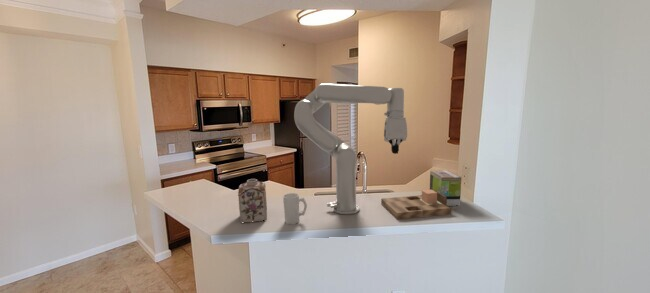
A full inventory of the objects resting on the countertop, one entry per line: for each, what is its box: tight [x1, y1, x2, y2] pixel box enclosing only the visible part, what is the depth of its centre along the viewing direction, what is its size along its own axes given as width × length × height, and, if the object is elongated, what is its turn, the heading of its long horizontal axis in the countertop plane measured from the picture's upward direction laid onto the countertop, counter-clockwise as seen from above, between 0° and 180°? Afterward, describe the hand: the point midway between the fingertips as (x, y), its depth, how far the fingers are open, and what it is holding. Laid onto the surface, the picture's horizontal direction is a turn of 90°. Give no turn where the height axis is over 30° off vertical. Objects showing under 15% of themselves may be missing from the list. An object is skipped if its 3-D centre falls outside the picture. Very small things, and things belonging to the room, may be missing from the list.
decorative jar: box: [237, 178, 268, 224], centre depth 120 cm, size 12×12×18 cm
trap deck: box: [380, 189, 452, 220], centre depth 125 cm, size 26×19×7 cm
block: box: [421, 189, 437, 204], centre depth 126 cm, size 5×5×5 cm
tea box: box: [429, 170, 462, 207], centre depth 134 cm, size 15×10×15 cm, turn 179°
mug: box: [282, 192, 308, 225], centre depth 115 cm, size 10×7×12 cm, turn 90°
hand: (395, 153), depth 125 cm, fingers closed
